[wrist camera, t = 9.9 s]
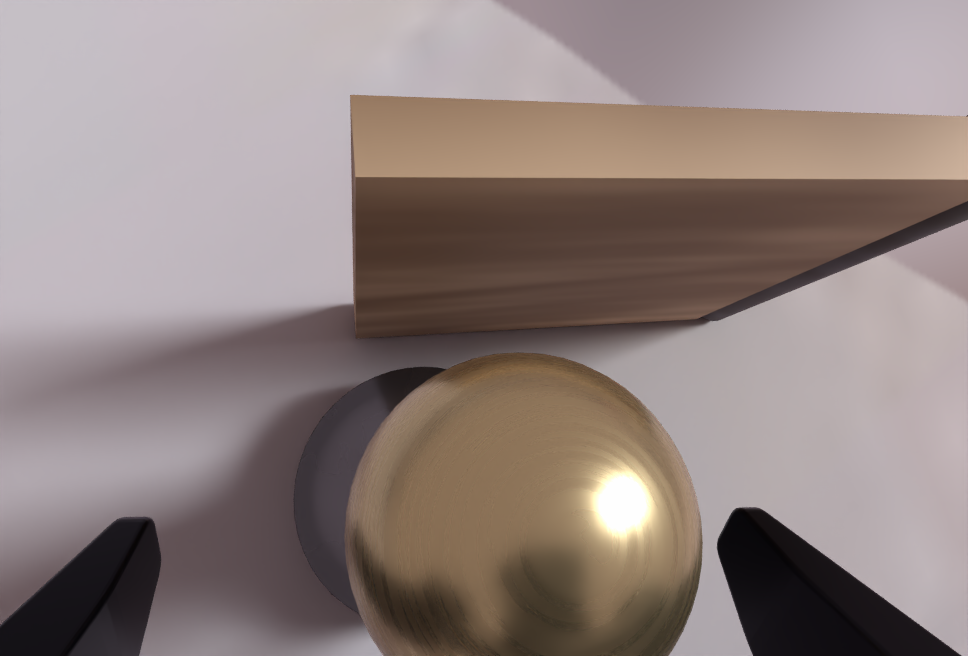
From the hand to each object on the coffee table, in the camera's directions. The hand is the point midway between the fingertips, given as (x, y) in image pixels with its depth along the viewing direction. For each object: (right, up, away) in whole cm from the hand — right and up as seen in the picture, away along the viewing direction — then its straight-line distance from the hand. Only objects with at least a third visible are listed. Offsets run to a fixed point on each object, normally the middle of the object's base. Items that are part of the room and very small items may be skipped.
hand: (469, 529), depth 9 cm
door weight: (-2, -2, +8) cm, 8 cm away
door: (+3, +4, +10) cm, 11 cm away
